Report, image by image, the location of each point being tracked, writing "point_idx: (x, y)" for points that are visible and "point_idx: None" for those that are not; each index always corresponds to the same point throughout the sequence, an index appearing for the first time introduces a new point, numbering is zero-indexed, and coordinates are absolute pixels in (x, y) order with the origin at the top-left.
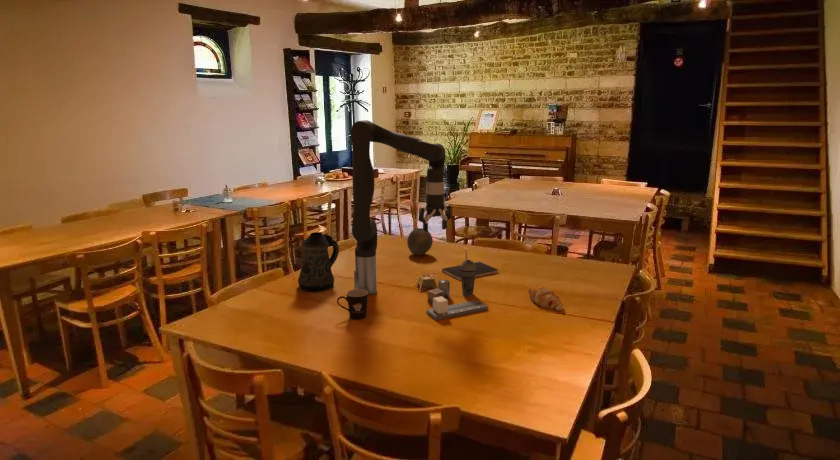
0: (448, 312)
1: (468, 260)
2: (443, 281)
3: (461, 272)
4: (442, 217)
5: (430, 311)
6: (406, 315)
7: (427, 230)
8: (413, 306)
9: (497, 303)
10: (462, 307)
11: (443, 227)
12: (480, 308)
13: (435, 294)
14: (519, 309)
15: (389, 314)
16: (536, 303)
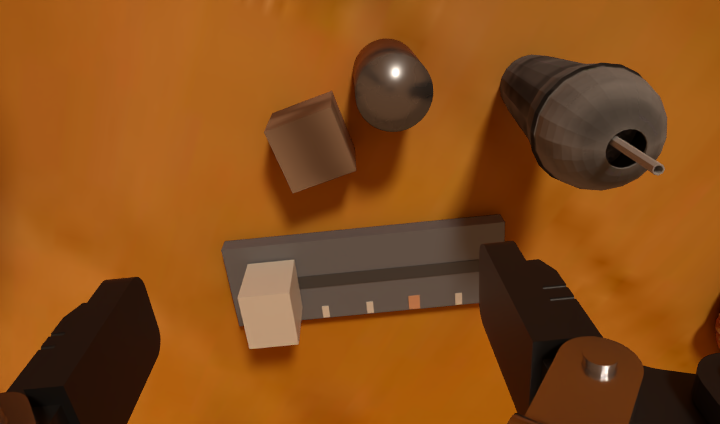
0: (307, 305)
1: (643, 120)
2: (392, 90)
3: (529, 128)
4: (561, 421)
5: (232, 273)
6: (126, 235)
7: (146, 363)
8: (181, 146)
9: (582, 245)
10: (390, 279)
11: (487, 308)
12: (463, 302)
13: (292, 190)
14: (618, 325)
15: (44, 199)
16: (716, 321)
